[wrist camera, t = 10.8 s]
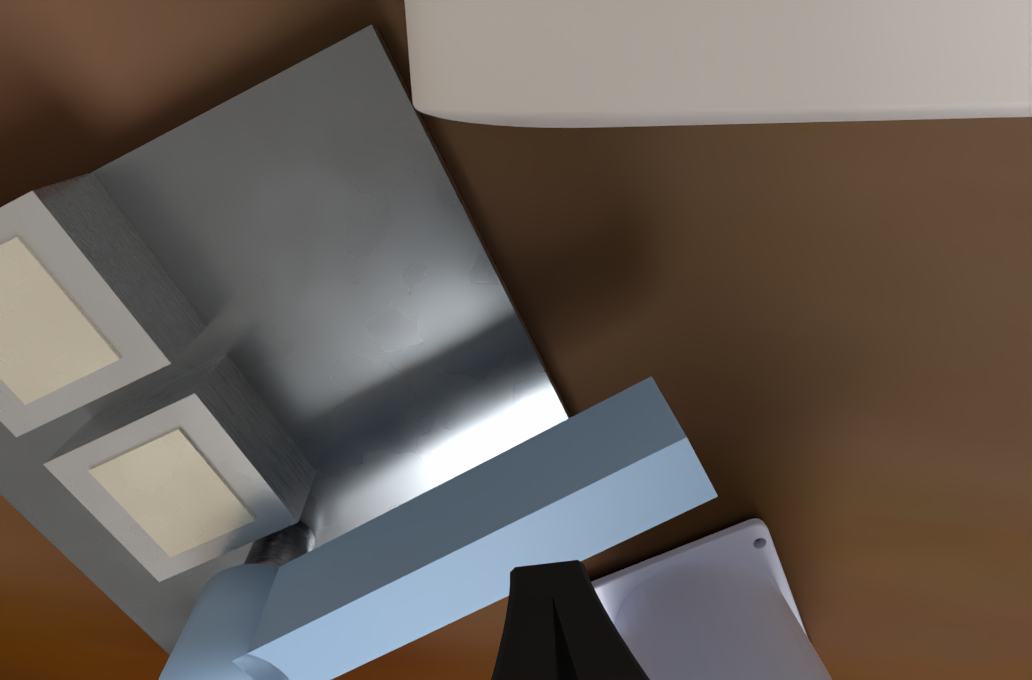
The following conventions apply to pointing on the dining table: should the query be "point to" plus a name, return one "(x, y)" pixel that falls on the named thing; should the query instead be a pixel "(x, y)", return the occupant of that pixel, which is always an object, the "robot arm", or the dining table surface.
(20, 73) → the dining table surface
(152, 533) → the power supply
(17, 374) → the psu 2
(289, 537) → the pivot post
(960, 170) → the dining table surface
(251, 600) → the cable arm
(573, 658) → the robot arm
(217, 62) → the dining table surface
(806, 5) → the cable organizer
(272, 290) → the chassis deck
